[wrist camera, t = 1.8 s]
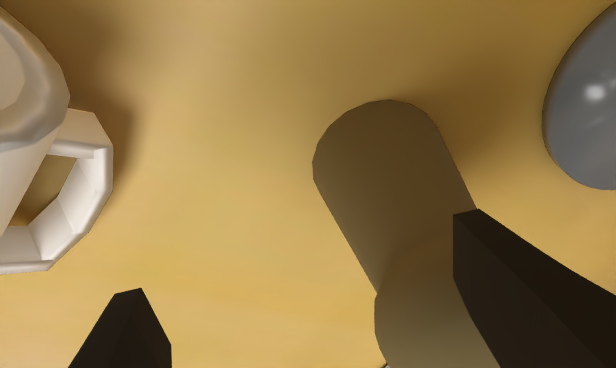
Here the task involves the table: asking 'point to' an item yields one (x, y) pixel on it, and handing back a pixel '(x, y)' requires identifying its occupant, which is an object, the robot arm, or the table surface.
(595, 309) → the robot arm
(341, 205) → the brown chess pawn
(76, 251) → the table surface
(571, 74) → the slate coaster
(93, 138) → the mug
